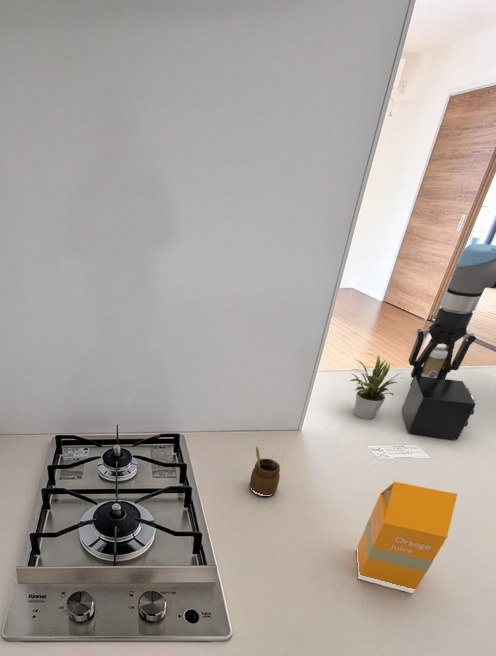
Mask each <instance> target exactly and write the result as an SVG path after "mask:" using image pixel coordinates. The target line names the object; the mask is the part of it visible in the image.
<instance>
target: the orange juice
mask: <svg viewBox="0 0 496 656" xmlns="http://www.w3.org/2000/svg"><path fill="white" fill-rule="evenodd" d="M457 498H458V493H454V492H449V491H443V490H439V489H434V488H430V487H424V486H418V485H413V484H409V483H403V482H398V481H393V482H392V483H391V484H390V485H389V486H388V487H387V488H385V489H384V490H383V491H381V492H380V493H379V495H378V497H377V500H376V503H375V504H374V507H373V509H372V512H371V514H370V516H369V518H368V520H367V523H366V525H365V527H364V529H363V532H362V534H361V537H360V539H359V541H358V543H357V547H358V561H359V572H360V575H362V576H366V577H370V578H374V579H378V580H381V581H385V582H389V583H392V584H396V585H400V586H404V587H407V588H412V589H416V590H417V589H418V587H419V586H420V583H421V582H422V580H423V578H424V576H425V575H426V574H427V572H428V571H429V569H430V567H431V566H432V565H433V562H434V560H435V558H436V556H437V555H438V553H439V552H440V550H441V548H442V546H444V543H445V542H446V540H447V539H448V535H449V530H450V526H451V523H452V518H453V515H454V510H455V507H456V506H455V505H456V501H457ZM357 547H356V548H357Z"/></svg>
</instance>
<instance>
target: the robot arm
mask: <svg viewBox="0 0 496 656" xmlns="http://www.w3.org/2000/svg"><path fill="white" fill-rule="evenodd" d="M454 268H455V269H454V271H453V274H452V276H451V279H450V281H449V284H448V286H447V289H446V291H445V294H444V296H443V298H442V301H441V303H440V307H439V308H438V311H437V312H436V314H435V317H434V320H433V323H432V324H431V325H430V326H429V327H428V328H424V329H422V328H417V330H416V339H415V341H414V344H413V347H412V350H411V352H410V354H409V358H408V364H409V366H412V367H413V368H412V370H411V373H410V377H411V378H412V379H411V382H410V385H409V386H410V387H411V385H412V382H413V380H414V377H415V376H420V375H421V373H422V371H423V368H422V366H423V364H424V362H425V361H426V359H427V358H428V356H429V355H430V354H431V352H432V351H433V350H434V348H435V347H438V346H439V345H445V348H446V350H447V352H448V354H447V357H446V358H445V360H444V362H443V369H442V368H441V369H440V371H439V374H438V376H437V378H440V379H447V375H448V374H449V373H450V372H451V371H457V370H459V368H460V366H461V364H462V362H463V360H464V358H465V356H466V354H467V353H468V350H469V348H470V346H471V345H472V344H473V343H474V342H475V341H476V339H477V337H476V336H475V334H474V333H469V332H468V330H467V329H468V326H469V324H470V321H471V319H472V318H473V315H474V313H473V312H474V311H475V310H476V309H477V306H478V304H479V302H480V299H481V297H482V295H483V294H484V291H485V290H486V289H496V245H495V244H488V243H473V244H469V245H467V246H466V247H465V248H464V249H463V251H462V253H461V255H460V257H459V259H458V262H457V263H456V266H455V267H454ZM428 334H429V335H430V337H431V338H430V339H429V341H428V343H427V345H426V346H425V348H424V349H423V350H422V351H421V348H422V346H423V343H424V339H425V338H427V336H428ZM460 339H462V342H461V344H460V346H459V348H458V349H457V352H456V354H455V357H454V358H453V354H454V349H455V344H456V342H458V341H459V340H460ZM420 351H421V352H420ZM452 360H453V361H452ZM410 387H409V388H410Z"/></svg>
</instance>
